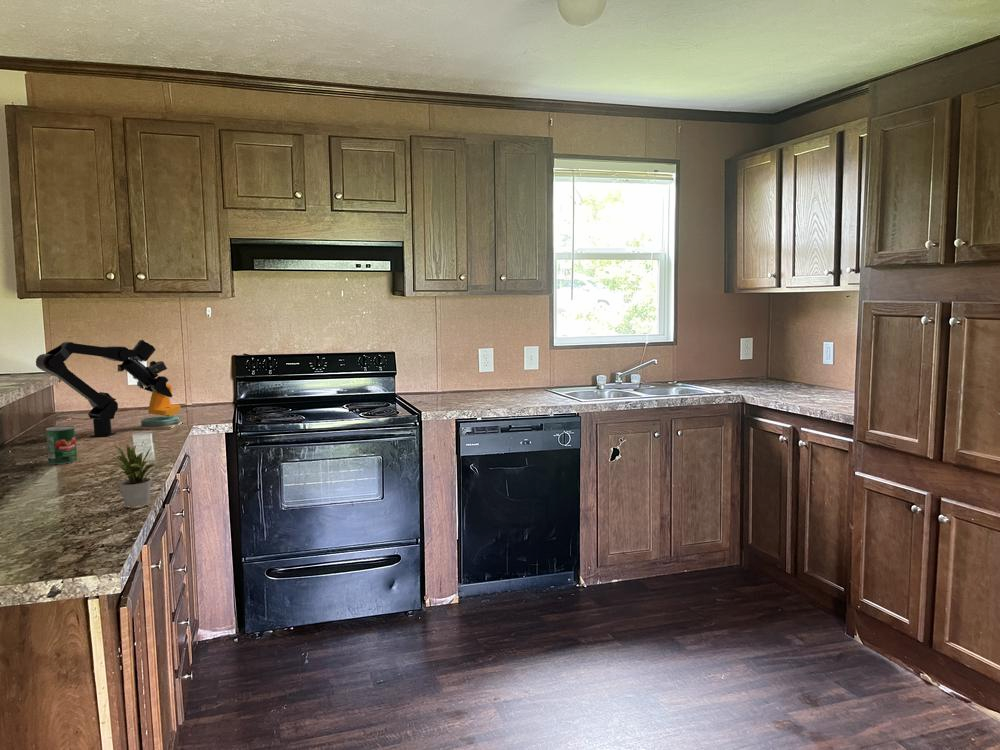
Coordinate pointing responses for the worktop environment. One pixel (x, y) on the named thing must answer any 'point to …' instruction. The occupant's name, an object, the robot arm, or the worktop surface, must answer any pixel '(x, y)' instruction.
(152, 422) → the teal flat pad
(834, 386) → the worktop surface
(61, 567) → the worktop surface
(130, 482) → the house plant
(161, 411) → the bracket
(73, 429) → the canned tomato
